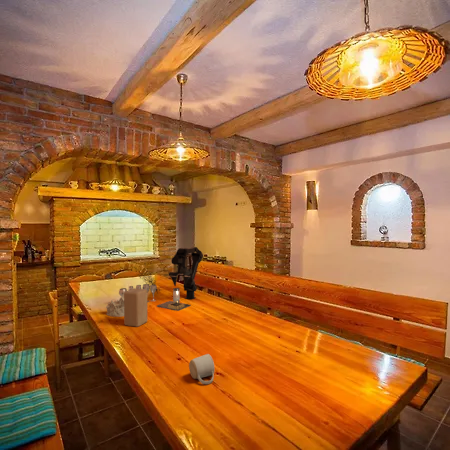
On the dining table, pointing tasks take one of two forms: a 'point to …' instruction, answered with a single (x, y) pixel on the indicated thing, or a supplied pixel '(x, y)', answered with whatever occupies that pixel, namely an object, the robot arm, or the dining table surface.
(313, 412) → the dining table surface
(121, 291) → the goblet set
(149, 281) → the dried plant
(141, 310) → the wooden block
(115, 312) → the ceramic cottage
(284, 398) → the dining table surface
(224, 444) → the dining table surface
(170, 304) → the dark grey flat slab
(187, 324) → the dining table surface
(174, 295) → the shiny metal cylinder
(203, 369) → the ceramic mug
